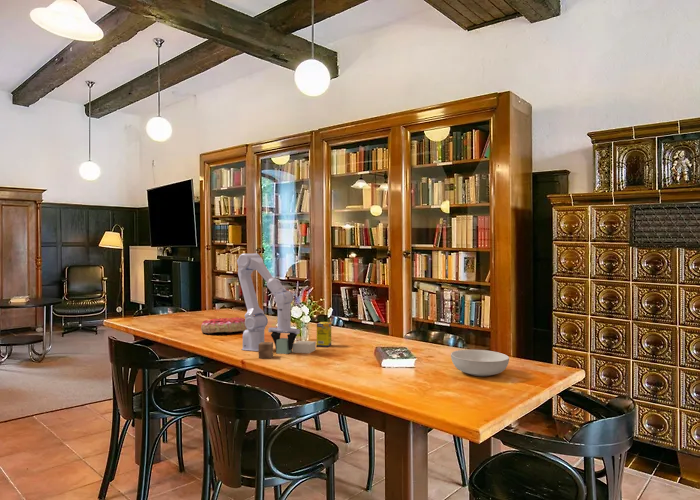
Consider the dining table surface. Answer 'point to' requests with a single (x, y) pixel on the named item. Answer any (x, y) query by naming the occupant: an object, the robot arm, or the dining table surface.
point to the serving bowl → (479, 362)
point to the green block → (282, 346)
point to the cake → (223, 325)
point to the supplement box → (323, 334)
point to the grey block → (304, 347)
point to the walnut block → (265, 350)
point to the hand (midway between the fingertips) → (284, 349)
